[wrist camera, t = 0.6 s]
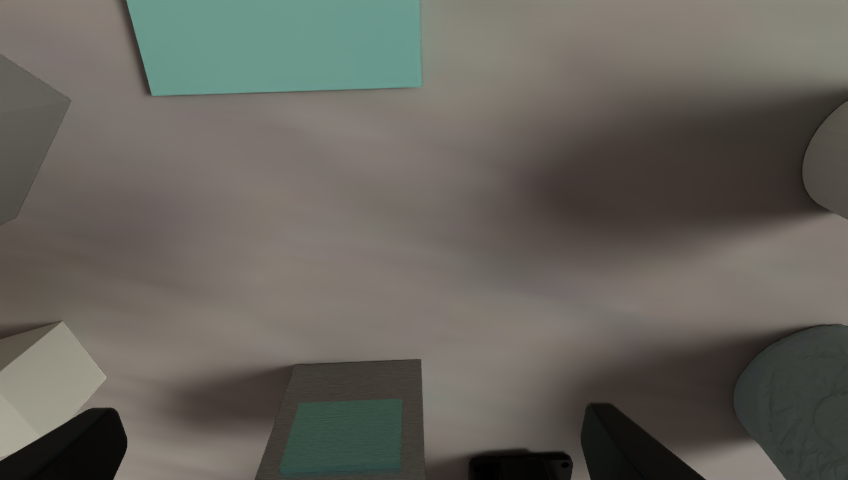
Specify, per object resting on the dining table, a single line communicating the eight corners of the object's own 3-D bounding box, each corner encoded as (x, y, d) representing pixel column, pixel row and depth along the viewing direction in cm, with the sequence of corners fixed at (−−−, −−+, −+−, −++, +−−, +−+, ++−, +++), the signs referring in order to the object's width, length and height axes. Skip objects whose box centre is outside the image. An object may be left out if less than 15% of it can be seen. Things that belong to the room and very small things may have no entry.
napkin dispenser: (422, 413, 26) (428, 563, 19) (305, 418, 26) (262, 571, 19) (420, 355, 25) (425, 495, 17) (294, 360, 24) (242, 504, 17)
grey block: (107, 377, 25) (47, 444, 21) (44, 394, 25) (-27, 463, 21) (63, 320, 23) (-12, 380, 19) (-4, 339, 23) (-91, 402, 19)
